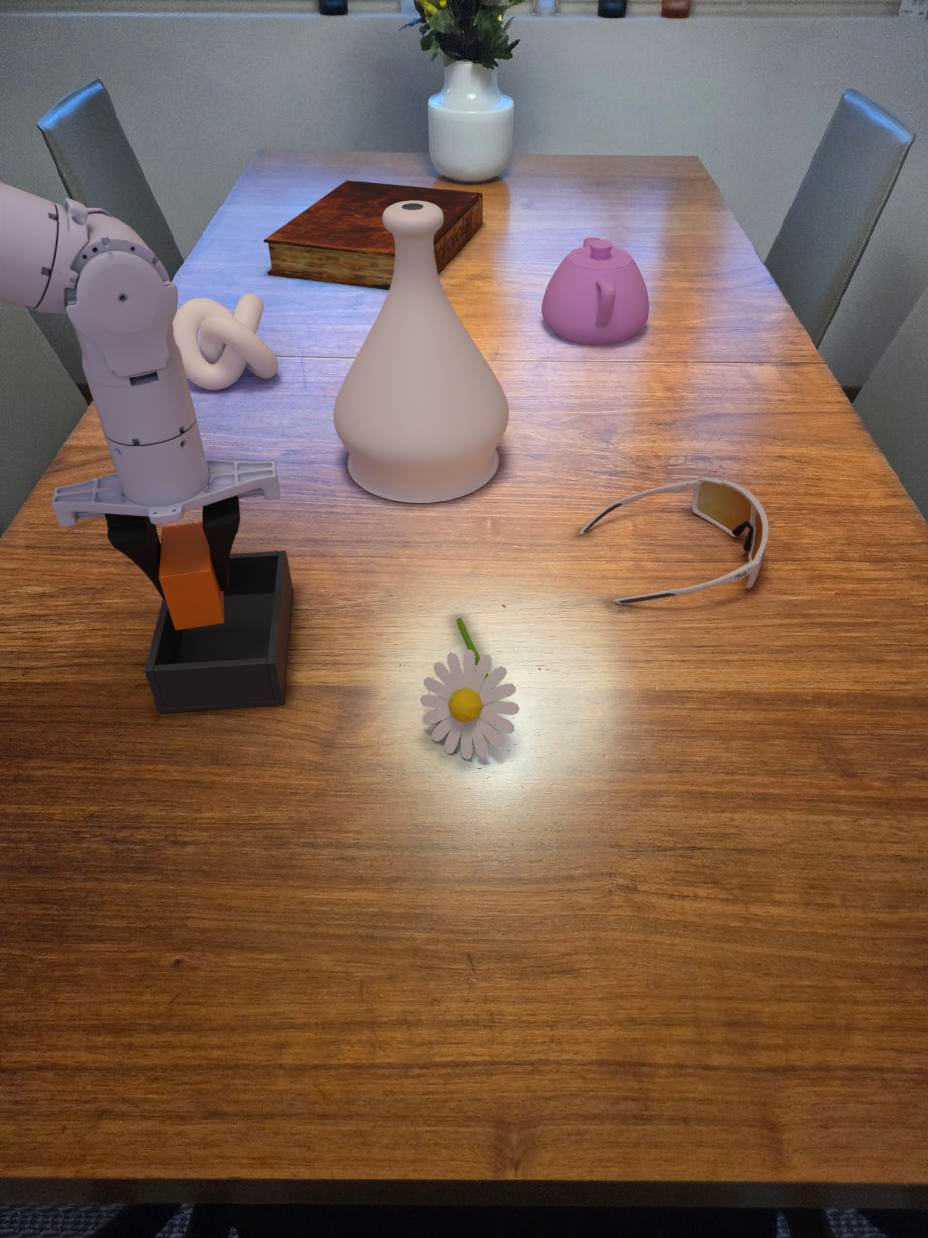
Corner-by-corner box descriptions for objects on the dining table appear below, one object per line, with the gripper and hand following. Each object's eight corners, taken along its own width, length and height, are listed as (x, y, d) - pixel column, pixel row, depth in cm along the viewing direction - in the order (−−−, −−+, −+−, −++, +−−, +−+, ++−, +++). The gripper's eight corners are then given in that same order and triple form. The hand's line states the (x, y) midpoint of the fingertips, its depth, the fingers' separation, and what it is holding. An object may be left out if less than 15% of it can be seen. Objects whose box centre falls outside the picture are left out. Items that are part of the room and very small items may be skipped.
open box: (159, 713, 65) (144, 671, 62) (185, 598, 75) (173, 556, 72) (284, 705, 66) (274, 662, 63) (293, 591, 75) (286, 550, 72)
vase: (421, 531, 82) (408, 259, 65) (304, 462, 91) (267, 207, 74) (541, 458, 91) (557, 204, 74) (425, 402, 100) (415, 164, 83)
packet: (175, 630, 63) (158, 577, 60) (177, 579, 68) (161, 526, 64) (224, 623, 64) (210, 570, 60) (223, 572, 68) (210, 520, 65)
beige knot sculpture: (309, 373, 105) (299, 300, 99) (231, 412, 98) (215, 336, 92) (247, 348, 111) (234, 276, 105) (169, 383, 104) (150, 309, 98)
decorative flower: (437, 556, 67) (503, 693, 57) (492, 588, 71) (563, 721, 60) (374, 625, 70) (426, 768, 59) (431, 652, 74) (489, 790, 63)
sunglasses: (792, 594, 74) (799, 548, 71) (622, 637, 74) (621, 593, 70) (723, 501, 85) (726, 457, 81) (573, 538, 84) (570, 496, 81)
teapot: (634, 293, 123) (644, 213, 116) (657, 357, 108) (670, 270, 101) (535, 293, 123) (539, 213, 116) (545, 357, 108) (550, 271, 101)
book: (421, 293, 123) (419, 257, 120) (268, 274, 129) (262, 239, 125) (483, 225, 144) (483, 192, 141) (349, 211, 150) (346, 179, 146)
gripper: (20, 470, 52) (88, 637, 61) (268, 441, 54) (298, 606, 63) (36, 412, 57) (97, 574, 66) (262, 387, 59) (291, 548, 68)
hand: (195, 586), depth 65 cm, fingers closed on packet, 3 cm apart
